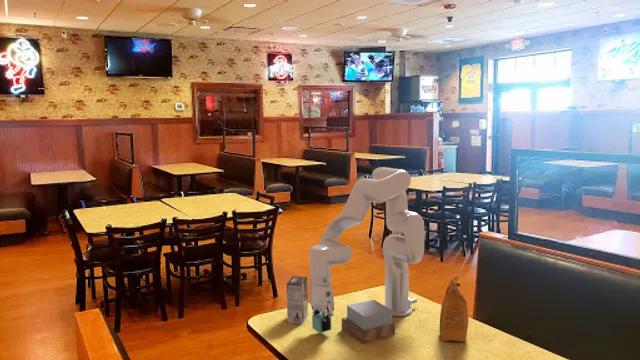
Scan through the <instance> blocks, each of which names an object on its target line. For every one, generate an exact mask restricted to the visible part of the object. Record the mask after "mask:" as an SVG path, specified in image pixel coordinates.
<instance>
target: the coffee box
mask: <svg viewBox="0 0 640 360" xmlns="http://www.w3.org/2000/svg"><path fill="white" fill-rule="evenodd" d="M308 290H309V289H308V276H296V275H295V276H294V275H293V276H292V277H290V279H289V280H288V281H287V282H286V311H287V312H286V313H287V314H286V316H287V317H286V318H287V320H286V321H287V323H288V324H301V325H303V324H304V322H305V320H306V319H307V318H308V316H309V306H308V305H309V300H308V297H309V296H308V294H309V293H308Z"/></svg>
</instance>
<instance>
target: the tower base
mask: <svg viewBox="0 0 640 360" xmlns="http://www.w3.org/2000/svg"><path fill="white" fill-rule="evenodd" d="M341 331H342V332H345V334H347V335H349V336H350V337H352V338H353V339H355V340H357V341H358V342H360V343H361V344H363V345H366V344H370V343H372V342H376V341H379V340H383V339H386V338H389V337H393V336H395V335H396V323H395V322H394V321H392V324H388V325H384V326H380V327H376V328H371V329H367V330H363V329H362V328H360V327H359V326H357V325H356V324H355V323H353V322H352V321H351V320H349V319H348V318H347V316H345V317H341Z"/></svg>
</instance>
